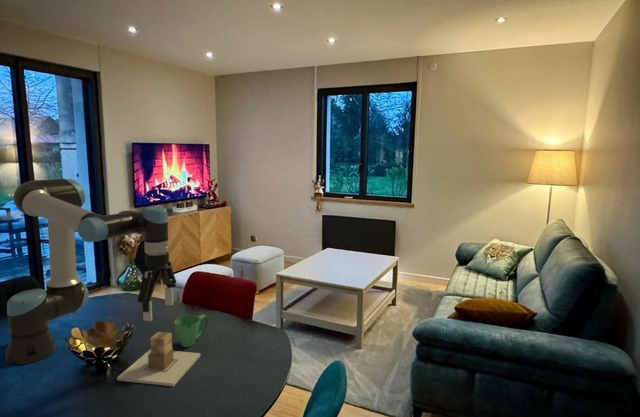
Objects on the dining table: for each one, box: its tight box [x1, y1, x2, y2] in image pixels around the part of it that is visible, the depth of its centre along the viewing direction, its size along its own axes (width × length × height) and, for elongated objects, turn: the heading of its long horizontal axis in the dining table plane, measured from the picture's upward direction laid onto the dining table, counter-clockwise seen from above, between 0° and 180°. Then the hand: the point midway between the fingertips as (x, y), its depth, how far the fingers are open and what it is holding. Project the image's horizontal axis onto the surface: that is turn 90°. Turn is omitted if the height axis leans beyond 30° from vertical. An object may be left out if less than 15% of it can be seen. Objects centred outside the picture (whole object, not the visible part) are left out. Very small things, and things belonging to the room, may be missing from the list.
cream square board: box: [116, 347, 201, 387], centre depth 140 cm, size 20×20×6 cm
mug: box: [173, 314, 208, 348], centre depth 159 cm, size 15×10×10 cm
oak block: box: [150, 331, 173, 356], centre depth 139 cm, size 5×5×6 cm
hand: (159, 312), depth 137 cm, fingers open, 13 cm apart
